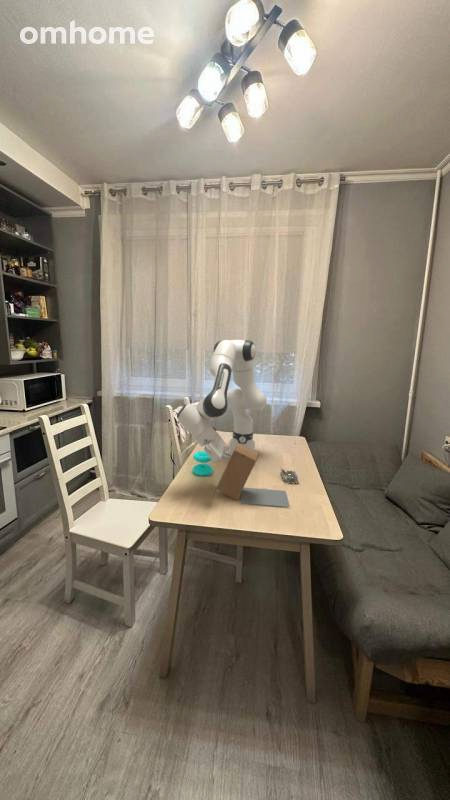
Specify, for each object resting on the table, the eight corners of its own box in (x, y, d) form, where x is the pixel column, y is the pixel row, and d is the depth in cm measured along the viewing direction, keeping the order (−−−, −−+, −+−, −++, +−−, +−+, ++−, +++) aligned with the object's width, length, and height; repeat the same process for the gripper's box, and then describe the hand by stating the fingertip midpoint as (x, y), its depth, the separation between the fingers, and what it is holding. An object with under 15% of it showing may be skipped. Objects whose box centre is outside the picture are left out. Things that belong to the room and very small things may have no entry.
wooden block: (236, 500, 130) (256, 460, 125) (215, 489, 131) (234, 449, 126) (240, 490, 139) (258, 452, 135) (220, 480, 140) (238, 442, 136)
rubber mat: (241, 488, 141) (241, 487, 141) (285, 492, 140) (285, 490, 140) (240, 503, 127) (240, 502, 127) (289, 508, 126) (289, 506, 126)
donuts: (193, 457, 149) (193, 450, 158) (193, 476, 150) (192, 468, 160) (214, 457, 150) (212, 450, 160) (213, 476, 152) (211, 468, 162)
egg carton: (279, 475, 159) (279, 467, 158) (293, 475, 159) (294, 468, 158) (282, 484, 148) (283, 476, 147) (298, 485, 148) (299, 477, 147)
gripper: (208, 439, 121) (232, 465, 122) (214, 426, 141) (234, 448, 142) (197, 449, 122) (220, 474, 123) (204, 434, 142) (224, 456, 143)
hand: (228, 460), depth 133 cm, fingers closed
